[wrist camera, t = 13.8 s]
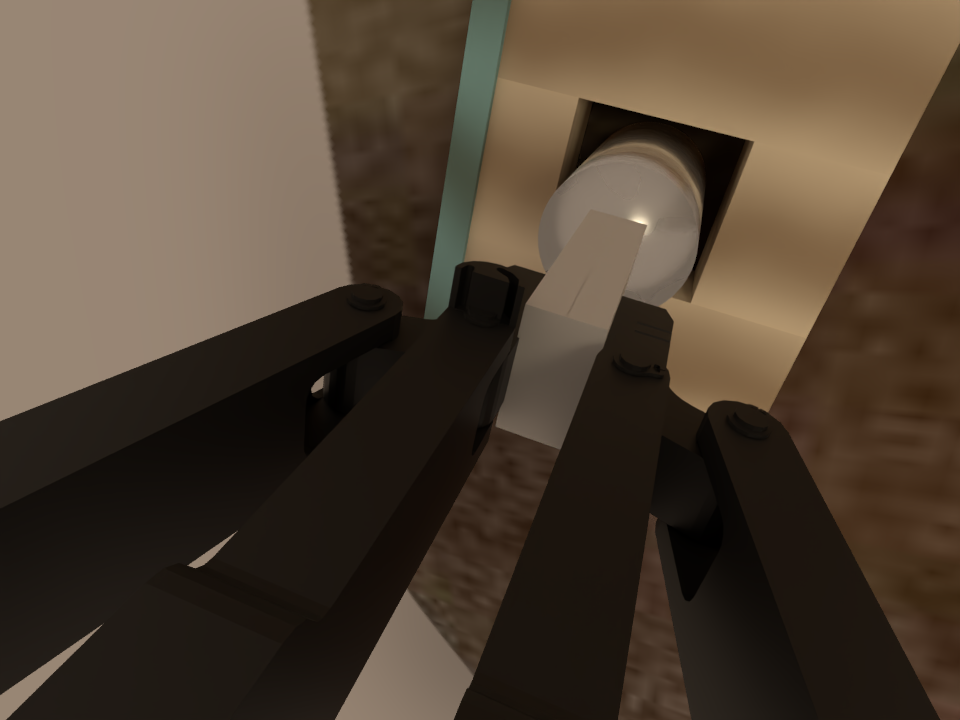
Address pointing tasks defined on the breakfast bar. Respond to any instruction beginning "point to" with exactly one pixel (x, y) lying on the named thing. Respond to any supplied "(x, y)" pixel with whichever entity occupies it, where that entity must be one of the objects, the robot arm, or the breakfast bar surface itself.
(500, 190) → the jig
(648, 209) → the grey metal cylinder
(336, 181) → the breakfast bar surface
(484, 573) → the breakfast bar surface
